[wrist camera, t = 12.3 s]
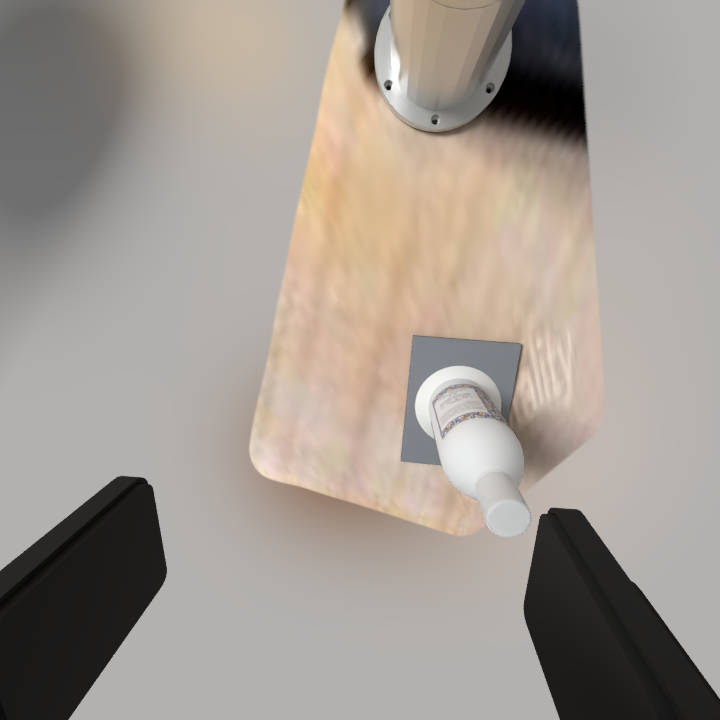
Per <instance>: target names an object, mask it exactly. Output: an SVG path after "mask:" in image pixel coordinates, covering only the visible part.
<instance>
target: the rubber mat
mask: <svg viewBox="0 0 720 720" xmlns="http://www.w3.org/2000/svg"><path fill="white" fill-rule="evenodd" d="M520 350H521V344H520V343H509V342H496V341H482V340H469V339H456V338H443V337H430V336H416V335H413V341H412V351H411V361H410V371H409V381H408V391H407V401H406V411H405V421H404V431H403V441H402V451H401V461H403V462H413V463H423V464H433V465H441V463H440V460H439V456H438V451H437V447H436V443H435V438H434V434H433V430H432V425H431V421H430V420H431V419H430V415H429V409H428V405H429V399H430V397H431V394H432V393H433V391H434V390H435V389H436V388H437V387H438V386H439V385H440V384H442V383H443V382H445V381H447V380H450V379H455V378H462V379H468V380H471V381H474V382H475V383H477V384H478V385H480V386H481V387H482V388H483V389H484V391H485V392H486V394H487V395H488V396H489V397H490V399H491V400H492V402H493V403H494V405H495V406H496V407H497V409H498V410H499V412H500V413H501V414H502V416H503V417H504V419H505V420H506V421H507V422H508V416H509V411H510V405H511V400H512V394H513V388H514V383H515V377H516V372H517V366H518V361H519V355H520Z"/></svg>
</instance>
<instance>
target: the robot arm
mask: <svg viewBox="0 0 720 720" xmlns="http://www.w3.org/2000/svg"><path fill="white" fill-rule="evenodd" d="M524 2H525V0H390V5H389V7H388V9H387V11H386V13H385V15H384V17H383V19H382V21H381V24H380V27H379V30H378V33H377V37H376V44H375V71H376V78H377V82H378V85H379V89H380V92H381V94H382V96H383V98H384V100H385V102H386V104H387V105H388V106H389V108H390V109H391V111H392V112H393V113H394V114H395V115H396V116H397V117H398V118H399V119H401V120H402V121H403V122H405V123H406V124H408V125H410V126H412V127H413V128H417V129H420V130H423V131H430V132H442V131H449V130H452V129H455V128H458V127H461V126H463V125H465V124H466V123H468V122H470V121H472V120H473V119H474V118H475V117H477V116H478V115H479V114H480V113H481V112H483V111H484V109H485V108H486V107H487V106H488V105H489V104H490V102H491V101H492V100H493V98H494V97H495V95H496V94H497V92H498V91H499V89H500V87H501V85H502V83H503V81H504V79H505V76H506V73H507V70H508V67H509V64H510V59H511V52H512V29H511V28H512V26H513V24H514V22H515V20H516V18H517V16H518V14H519V12H520V10H521V8H522V6H523V4H524ZM387 87H390V88H391V90H389V91H388V90H386V88H387ZM486 90H490V93H487V92H486ZM434 120H435V121H437V124H436V125H434V124H432V121H434ZM166 574H167V567H166V561H165V555H164V550H163V544H162V538H161V532H160V527H159V520H158V515H157V509H156V503H155V498H154V491H153V488H152V486H151V485H149V484H148V482H147V480H146V479H145V478H141V477H126V476H120V477H117V478H116V479H114V480H113V481H111V482H110V483H109V484H108V485H106V486H105V487H104V488H103V489H101V490H100V491H99V492H98V493H96V494H95V495H94V496H93V497H91V498H90V499H89V500H88V501H86V502H85V503H84V504H83V505H82V506H80V507H79V508H78V509H77V510H75V511H74V512H73V513H72V514H70V515H69V516H68V517H67V518H65V519H64V520H63V521H62V522H60V523H59V524H58V525H57V526H56V527H54V528H53V529H52V530H50V531H49V532H48V533H47V534H45V535H44V536H43V537H42V538H40V539H39V540H38V541H37V542H36V543H34V544H33V545H32V546H31V547H29V548H28V549H27V550H26V551H24V552H23V553H22V554H21V555H20V556H18V557H17V558H16V559H14V560H13V561H12V562H11V563H10V564H8V565H7V566H6V567H4V568H3V569H2V570H1V571H0V720H68V719H69V718H70V717H71V715H72V714H73V712H74V711H75V709H76V708H77V706H78V705H79V704H80V702H81V701H82V699H83V698H84V697H85V695H86V694H87V692H88V691H89V689H90V688H91V686H92V685H93V684H94V682H95V681H96V679H97V678H98V677H99V675H100V674H101V672H102V671H103V670H104V668H105V667H106V665H107V664H108V662H109V661H110V660H111V658H112V657H113V655H114V654H115V652H116V651H117V650H118V648H119V647H120V645H121V644H122V642H123V641H124V639H125V638H126V637H127V635H128V634H129V632H130V631H131V630H132V628H133V627H134V625H135V624H136V622H137V621H138V620H139V618H140V617H141V615H142V614H143V612H144V611H145V609H146V608H147V607H148V605H149V604H150V602H151V601H152V599H153V598H154V597H155V595H156V594H157V592H158V591H159V590H160V588H161V587H162V585H163V583H164V581H165V578H166ZM524 616H525V620H526V624H527V627H528V629H529V633H530V635H531V638H532V641H533V644H534V647H535V650H536V653H537V655H538V658H539V661H540V664H541V667H542V670H543V672H544V675H545V678H546V681H547V684H548V687H549V690H550V692H551V695H552V698H553V701H554V704H555V707H556V710H557V712H558V715H559V718H560V720H720V699H719V697H718V696H717V694H716V693H715V692H714V690H713V689H712V688H711V686H710V685H709V684H708V682H707V681H706V679H705V678H704V677H703V675H702V674H701V672H699V670H698V668H697V667H696V665H695V664H694V663H693V661H692V660H691V659H690V657H689V656H688V655H687V653H686V652H685V650H684V649H683V648H682V646H681V645H680V643H679V642H678V641H677V639H676V638H675V636H674V635H673V634H672V632H671V631H670V630H669V628H668V627H667V625H666V624H665V623H664V621H663V620H662V619H661V617H660V616H659V614H658V613H657V612H656V610H655V609H654V607H653V606H652V605H651V603H650V602H649V601H648V599H647V598H646V596H645V595H644V594H643V592H642V591H641V590H640V589H639V588H638V586H637V585H636V584H635V583H633V582H632V581H631V580H630V579H629V578H628V576H627V575H626V573H625V572H624V571H623V569H622V568H621V566H620V565H619V564H618V562H617V561H616V560H615V558H614V557H613V555H612V554H611V553H610V551H609V550H608V548H607V547H606V545H605V544H604V543H603V541H602V540H601V539H600V537H599V536H598V534H597V533H596V531H595V530H594V529H593V527H592V526H591V525H590V523H589V522H588V520H587V519H586V517H585V516H584V515H583V514H582V512H581V511H579V510H577V509H563V508H550V509H549V511H548V513H547V514H542V515H541V516H540V519H539V525H538V530H537V535H536V541H535V547H534V551H533V557H532V563H531V568H530V573H529V579H528V584H527V589H526V594H525V600H524Z"/></svg>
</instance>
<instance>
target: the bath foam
mask: <svg viewBox="0 0 720 720" xmlns="http://www.w3.org/2000/svg"><path fill="white" fill-rule="evenodd" d="M428 409H429V415H430V419H431V420H430V421H431V425H432V430H433V434H434V438H435V443H436V447H437V451H438V456H439V460H440V463H441V466H442V468H443V470H444V472H445V474H446V476H447V478H448V479H449V481H450V482H451V483H452V484H453V485H454V487H456V488H457V489H458V490H459V491H460V492H461V493H463V494H464V495H466V496H468V497H470V498H472V499H475V500H478V502H479V505H480V507H481V510H482V513H483V516H484V519H485V522H486V524H487V526H488V527H489V529H490V530H491V531H492V532H493V533H495V534H497V535H498V536H501V537H515V536H518V535H520V534H522V533H524V532H525V531H526V530H527V529H528V527H529V526H530V523H531V512H530V510H529V508H528V506H527V504H526V502H525V500H524V499H523V497H522V495H521V493H520V491H519V489H518V488H517V487H518V485H519V483H520V481H521V479H522V476H523V472H524V455H523V450H522V447H521V444H520V442H519V440H518V438H517V436H516V434H515V433H514V431H513V430H512V429H511V427H510V426H509V424H508V423H507V421H506V420H505V419H504V417H503V416H502V414H501V413H500V412H499V410H498V409H497V407H496V406H495V405H494V403H493V402H492V400H491V399H490V397H489V396H488V395H487V394H486V392H485V391H484V389H483V388H482V387H481V386H480V385H478V384H477V383H475V382H474V381H471V380H468V379H462V378H455V379H450V380H447V381H445V382H443V383H442V384H440V385H439V386H438V387H437V388H436V389H435V390H434V391H433V393H432V394H431V397H430V399H429V405H428Z"/></svg>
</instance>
